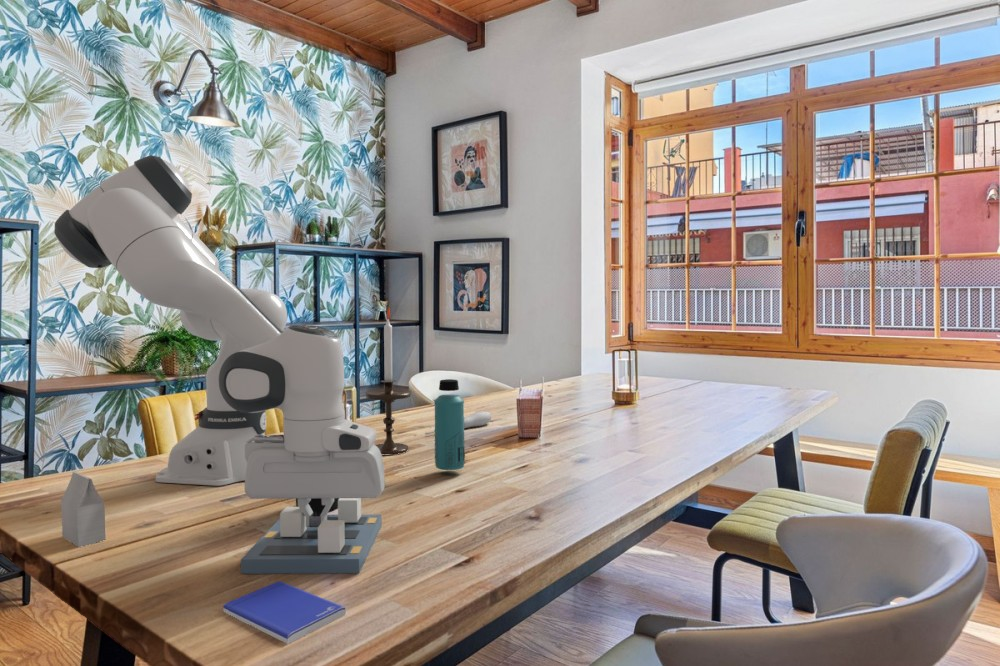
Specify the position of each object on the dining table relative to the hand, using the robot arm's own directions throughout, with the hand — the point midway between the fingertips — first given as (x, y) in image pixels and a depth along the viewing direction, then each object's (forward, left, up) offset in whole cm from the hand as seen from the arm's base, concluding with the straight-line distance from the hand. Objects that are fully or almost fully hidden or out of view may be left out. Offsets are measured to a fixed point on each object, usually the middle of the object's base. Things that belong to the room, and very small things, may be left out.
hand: (316, 526), depth 98 cm
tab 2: (+4, -6, -1) cm, 7 cm away
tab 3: (+4, +6, -1) cm, 7 cm away
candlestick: (+1, +61, -4) cm, 61 cm away
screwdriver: (+17, +85, -4) cm, 87 cm away
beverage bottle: (+17, +41, -4) cm, 44 cm away
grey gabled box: (-37, +4, -4) cm, 38 cm away
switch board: (0, 0, -3) cm, 3 cm away
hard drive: (+1, -20, -4) cm, 21 cm away
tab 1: (-3, 0, -1) cm, 4 cm away
